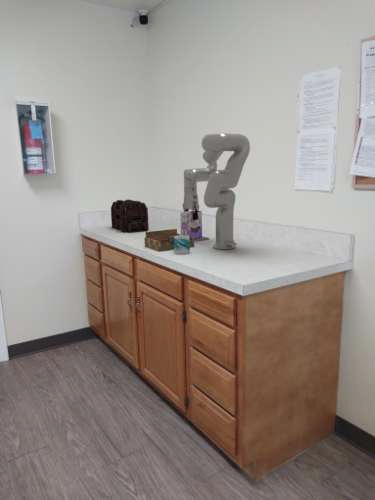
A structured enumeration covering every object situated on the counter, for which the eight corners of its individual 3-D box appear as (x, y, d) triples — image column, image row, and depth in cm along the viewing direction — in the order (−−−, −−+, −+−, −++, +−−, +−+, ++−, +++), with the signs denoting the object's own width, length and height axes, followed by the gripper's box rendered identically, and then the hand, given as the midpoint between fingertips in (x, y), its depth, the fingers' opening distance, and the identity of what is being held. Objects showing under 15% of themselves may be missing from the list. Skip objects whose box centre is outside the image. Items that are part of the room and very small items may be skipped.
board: (209, 239, 242) (209, 237, 242) (182, 242, 233) (182, 241, 232) (199, 237, 252) (199, 235, 251) (173, 240, 242) (173, 238, 242)
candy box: (188, 240, 234) (187, 212, 231) (180, 239, 238) (179, 212, 235) (202, 237, 245) (202, 210, 242) (195, 236, 249) (194, 209, 245)
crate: (110, 227, 301) (108, 200, 297) (133, 225, 310) (132, 198, 306) (125, 233, 271) (124, 203, 267) (151, 231, 280) (150, 201, 276)
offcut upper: (182, 241, 218) (182, 235, 217) (171, 243, 213) (171, 237, 212) (179, 241, 220) (179, 234, 220) (167, 243, 215) (167, 236, 214)
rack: (194, 246, 221) (194, 232, 219) (159, 251, 210) (159, 236, 208) (177, 242, 236) (177, 228, 234) (144, 246, 225) (144, 232, 223)
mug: (177, 254, 201) (177, 238, 199) (169, 250, 212) (168, 235, 210) (192, 253, 204) (192, 237, 202) (183, 249, 215) (182, 233, 213)
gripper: (203, 190, 231) (204, 219, 234) (188, 189, 245) (188, 217, 249) (192, 191, 227) (193, 220, 230) (177, 190, 241) (178, 218, 245)
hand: (190, 218), depth 240 cm, fingers open, 9 cm apart
